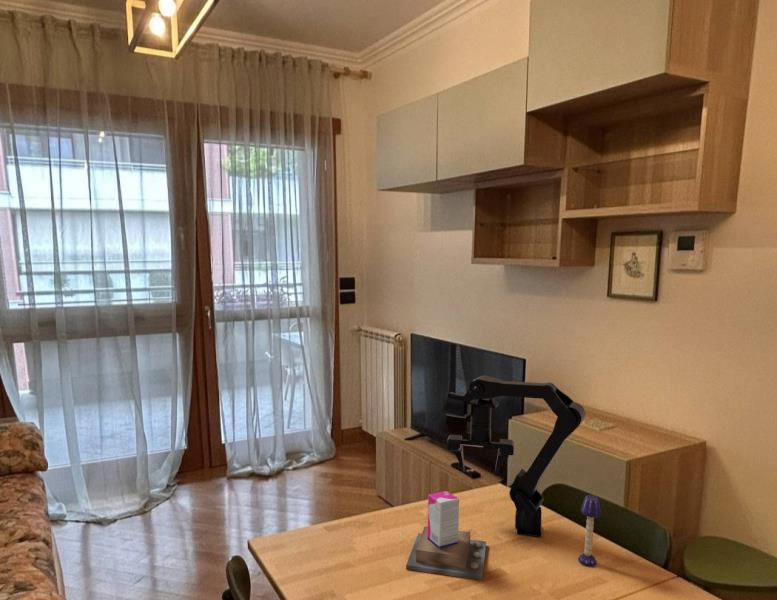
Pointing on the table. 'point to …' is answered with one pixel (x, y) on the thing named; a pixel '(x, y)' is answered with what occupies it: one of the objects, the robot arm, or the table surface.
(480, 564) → the walnut brick base
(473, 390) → the robot arm
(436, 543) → the supplement box
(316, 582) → the table surface
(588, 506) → the toy lamp
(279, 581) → the table surface
